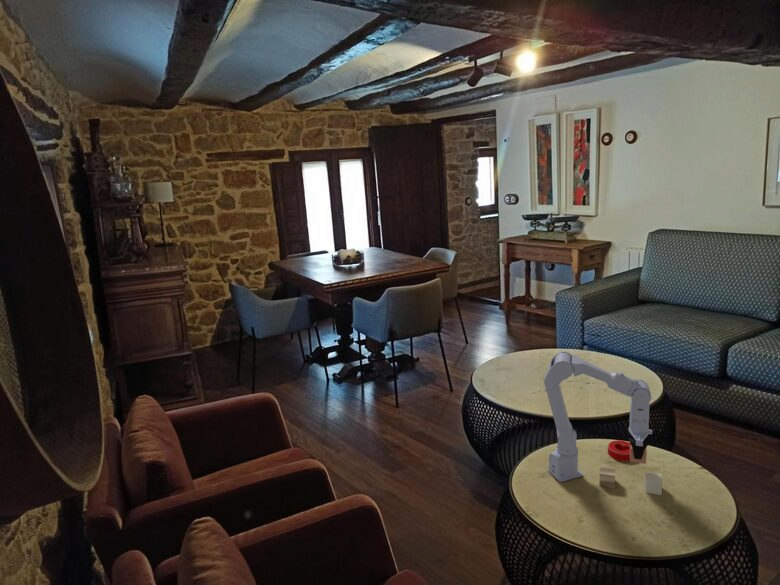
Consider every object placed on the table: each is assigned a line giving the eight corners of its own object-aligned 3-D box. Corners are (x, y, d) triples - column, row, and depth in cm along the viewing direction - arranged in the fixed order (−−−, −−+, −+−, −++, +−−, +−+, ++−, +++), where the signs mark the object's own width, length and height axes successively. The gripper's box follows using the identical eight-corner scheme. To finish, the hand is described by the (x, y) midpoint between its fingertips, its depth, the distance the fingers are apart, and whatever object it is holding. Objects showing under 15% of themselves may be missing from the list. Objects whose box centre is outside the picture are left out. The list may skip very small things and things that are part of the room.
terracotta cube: (646, 463, 178) (646, 450, 176) (630, 461, 180) (630, 448, 178) (645, 456, 182) (646, 443, 181) (629, 454, 184) (630, 441, 183)
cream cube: (661, 495, 175) (662, 482, 174) (645, 492, 177) (645, 480, 176) (660, 486, 179) (661, 474, 178) (644, 484, 181) (645, 471, 180)
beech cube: (614, 488, 180) (615, 475, 179) (599, 485, 182) (599, 473, 181) (614, 480, 185) (615, 467, 183) (599, 477, 186) (600, 465, 185)
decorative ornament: (608, 460, 196) (608, 452, 196) (607, 446, 205) (607, 438, 204) (637, 463, 193) (637, 455, 193) (634, 448, 202) (635, 441, 201)
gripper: (654, 429, 169) (652, 468, 172) (651, 408, 182) (649, 444, 185) (629, 427, 172) (628, 464, 175) (628, 406, 185) (627, 442, 188)
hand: (637, 454), depth 180 cm, fingers closed on terracotta cube, 5 cm apart
